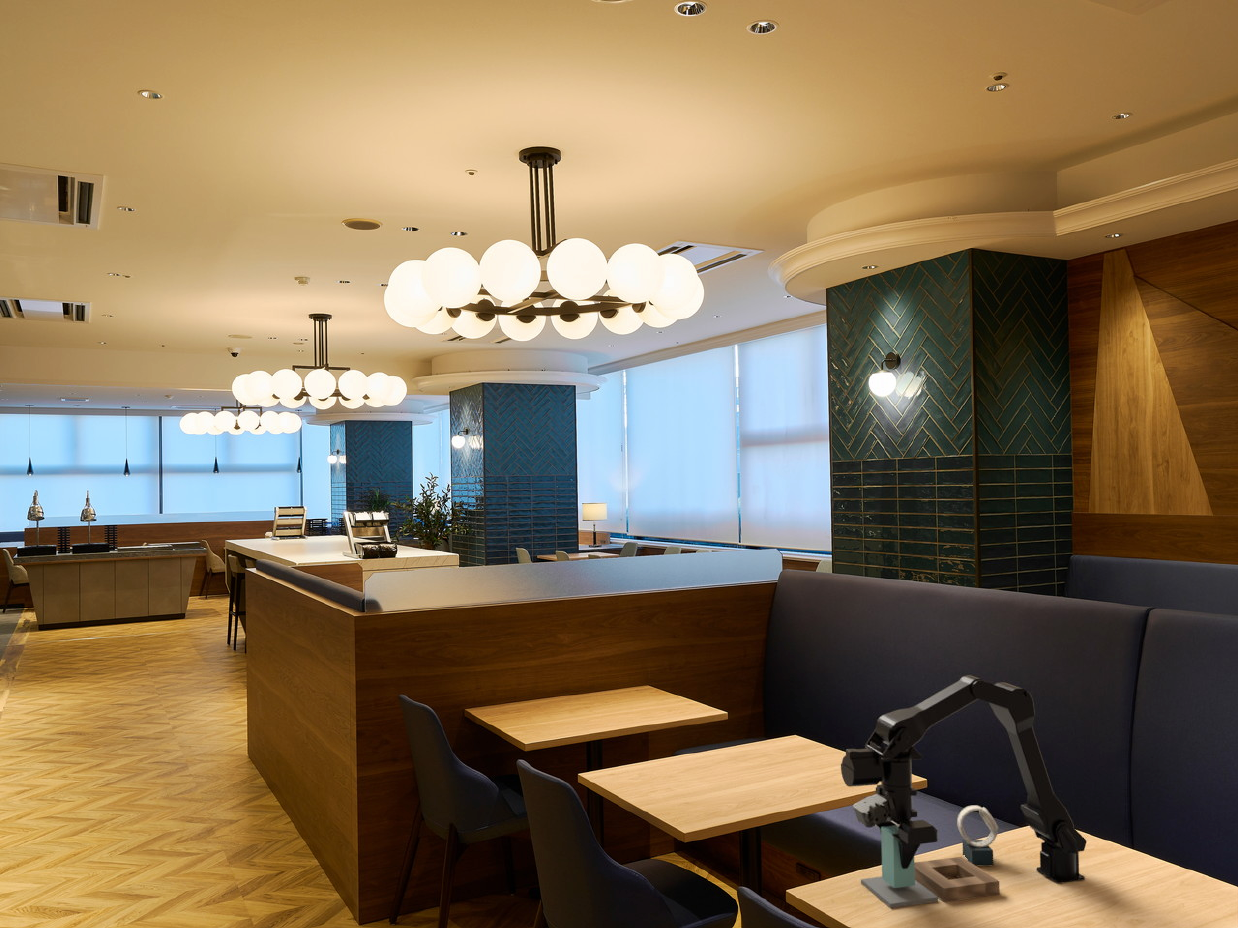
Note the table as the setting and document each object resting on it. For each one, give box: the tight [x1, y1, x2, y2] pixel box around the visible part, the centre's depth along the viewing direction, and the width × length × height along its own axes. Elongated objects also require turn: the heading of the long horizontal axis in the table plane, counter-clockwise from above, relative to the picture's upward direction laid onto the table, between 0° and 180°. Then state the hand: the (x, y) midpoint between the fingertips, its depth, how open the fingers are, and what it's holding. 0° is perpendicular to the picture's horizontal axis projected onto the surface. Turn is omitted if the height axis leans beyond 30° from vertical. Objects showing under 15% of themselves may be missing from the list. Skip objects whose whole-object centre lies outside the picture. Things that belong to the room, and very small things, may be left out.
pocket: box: [914, 856, 1001, 903], centre depth 180 cm, size 12×12×2 cm
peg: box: [880, 825, 915, 888], centre depth 177 cm, size 4×4×10 cm
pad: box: [860, 876, 939, 909], centre depth 177 cm, size 10×11×1 cm
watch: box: [956, 804, 1000, 866], centre depth 192 cm, size 6×8×11 cm
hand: (898, 863), depth 177 cm, fingers closed on peg, 4 cm apart
